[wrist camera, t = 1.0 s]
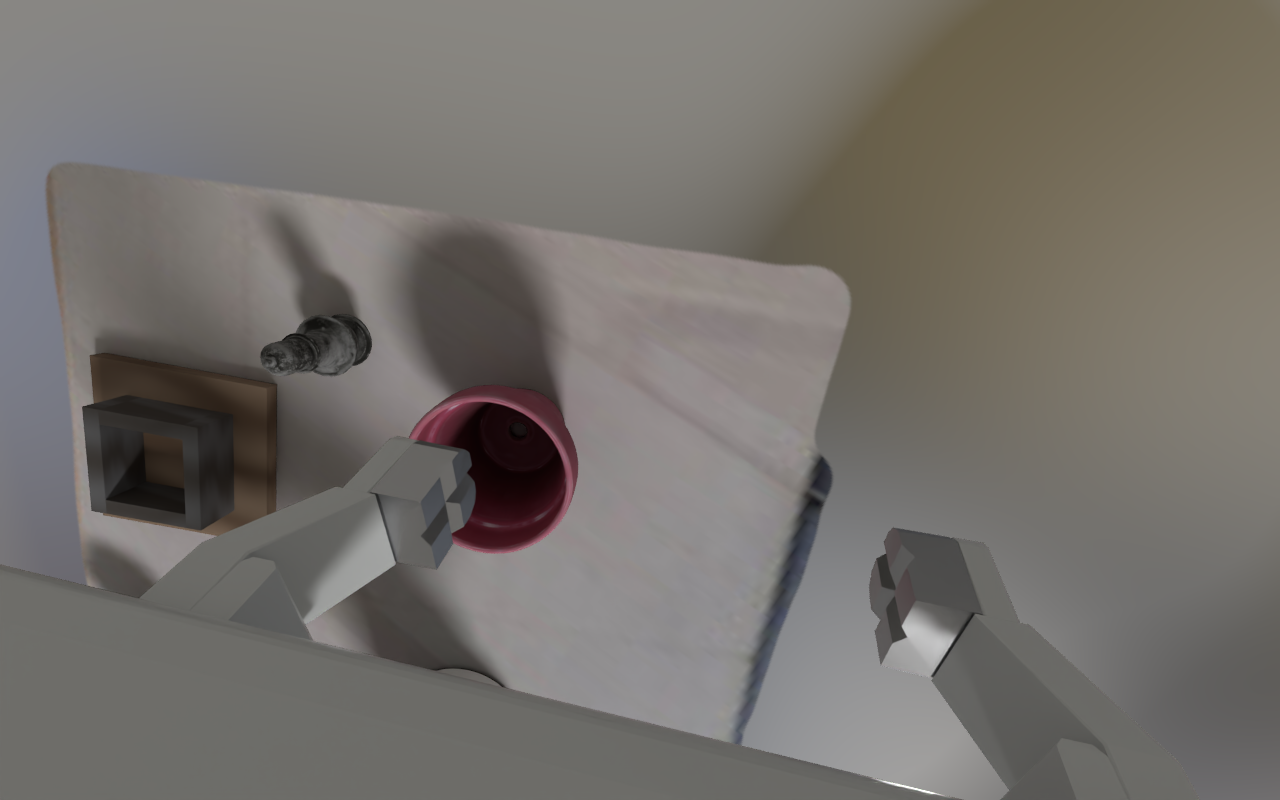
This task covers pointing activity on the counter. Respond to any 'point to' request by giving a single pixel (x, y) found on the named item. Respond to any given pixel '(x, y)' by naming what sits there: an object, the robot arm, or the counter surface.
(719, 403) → the counter surface
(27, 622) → the robot arm
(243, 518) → the socket holder
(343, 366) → the dark grey tall piece
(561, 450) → the plant pot
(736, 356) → the counter surface
